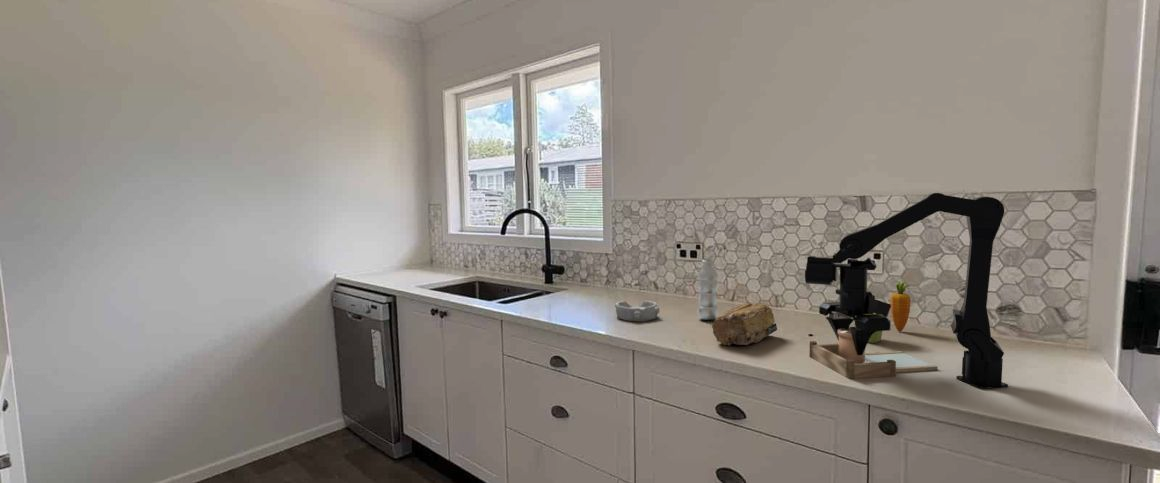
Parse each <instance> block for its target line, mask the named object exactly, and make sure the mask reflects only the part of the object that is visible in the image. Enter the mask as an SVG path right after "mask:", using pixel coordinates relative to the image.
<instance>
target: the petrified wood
mask: <svg viewBox="0 0 1160 483" xmlns="http://www.w3.org/2000/svg"><path fill="white" fill-rule="evenodd" d="M711 328H712V334H713V336H714V337H715V339H716V342H718V343H720V344H721V345H723V346H731V345H733V344H735V346H737V345H738V346H740V345H741V346H742V345H743V346H746V345H747V346H748V345H751V344H757V343H759V342H761V341H762V340H763V339H764V338H766V337H768V336H769V335H771V334H773V333H774V332H776V331H778V326H777V323H776V322H775V316H774V313H773V309H772V308H771V307H769V306H768V305H767V304H766V303H765V304H764V303H762V302H761V303H758V302H757V303H754V304H753V303H750V302H747V303H742V304H739V305H737V306H736V307H733V308H732V309H730V310H727V311H726V312H724V313H722V314H720V315H719V316H717V317H716V319H714V321H713V323H712V325H711Z"/></svg>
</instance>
